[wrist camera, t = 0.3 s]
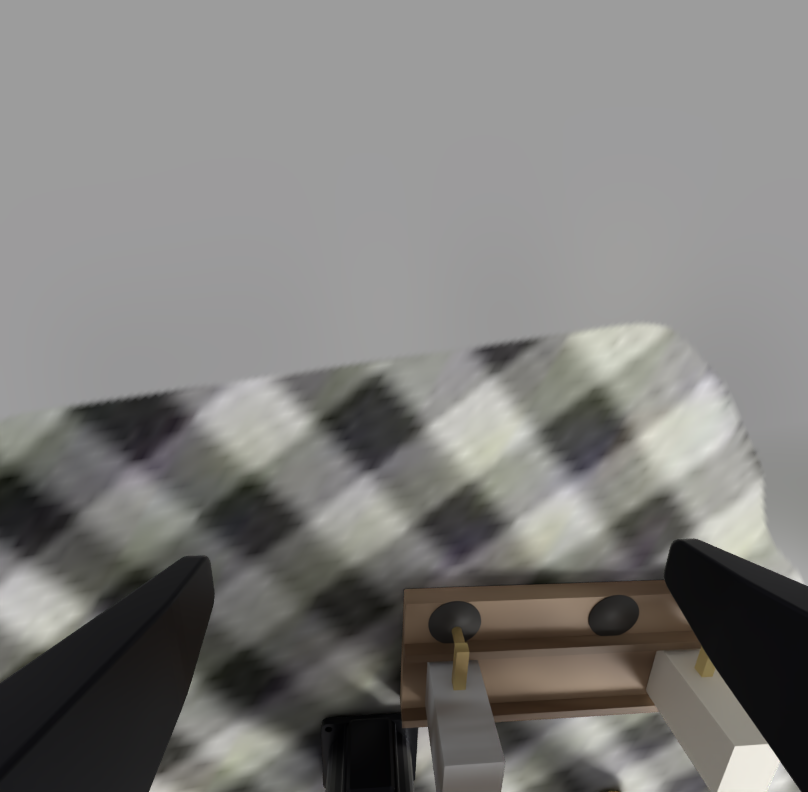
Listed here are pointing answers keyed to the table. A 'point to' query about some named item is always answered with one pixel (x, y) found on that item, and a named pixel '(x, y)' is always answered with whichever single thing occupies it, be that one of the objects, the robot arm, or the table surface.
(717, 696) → the slider
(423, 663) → the wooden peg rack
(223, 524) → the table surface
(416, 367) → the table surface
